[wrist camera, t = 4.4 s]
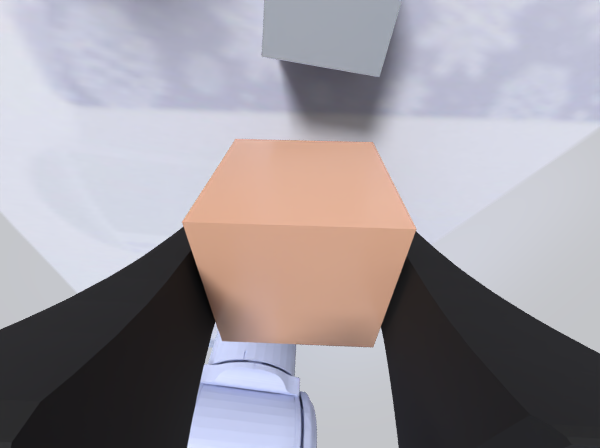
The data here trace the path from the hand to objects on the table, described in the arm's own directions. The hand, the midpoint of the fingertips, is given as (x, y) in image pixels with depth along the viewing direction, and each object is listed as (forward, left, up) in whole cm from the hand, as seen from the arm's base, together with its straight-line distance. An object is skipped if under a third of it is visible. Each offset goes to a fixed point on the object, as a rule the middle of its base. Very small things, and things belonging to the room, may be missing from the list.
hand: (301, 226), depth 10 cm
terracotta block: (0, 0, -2) cm, 2 cm away
